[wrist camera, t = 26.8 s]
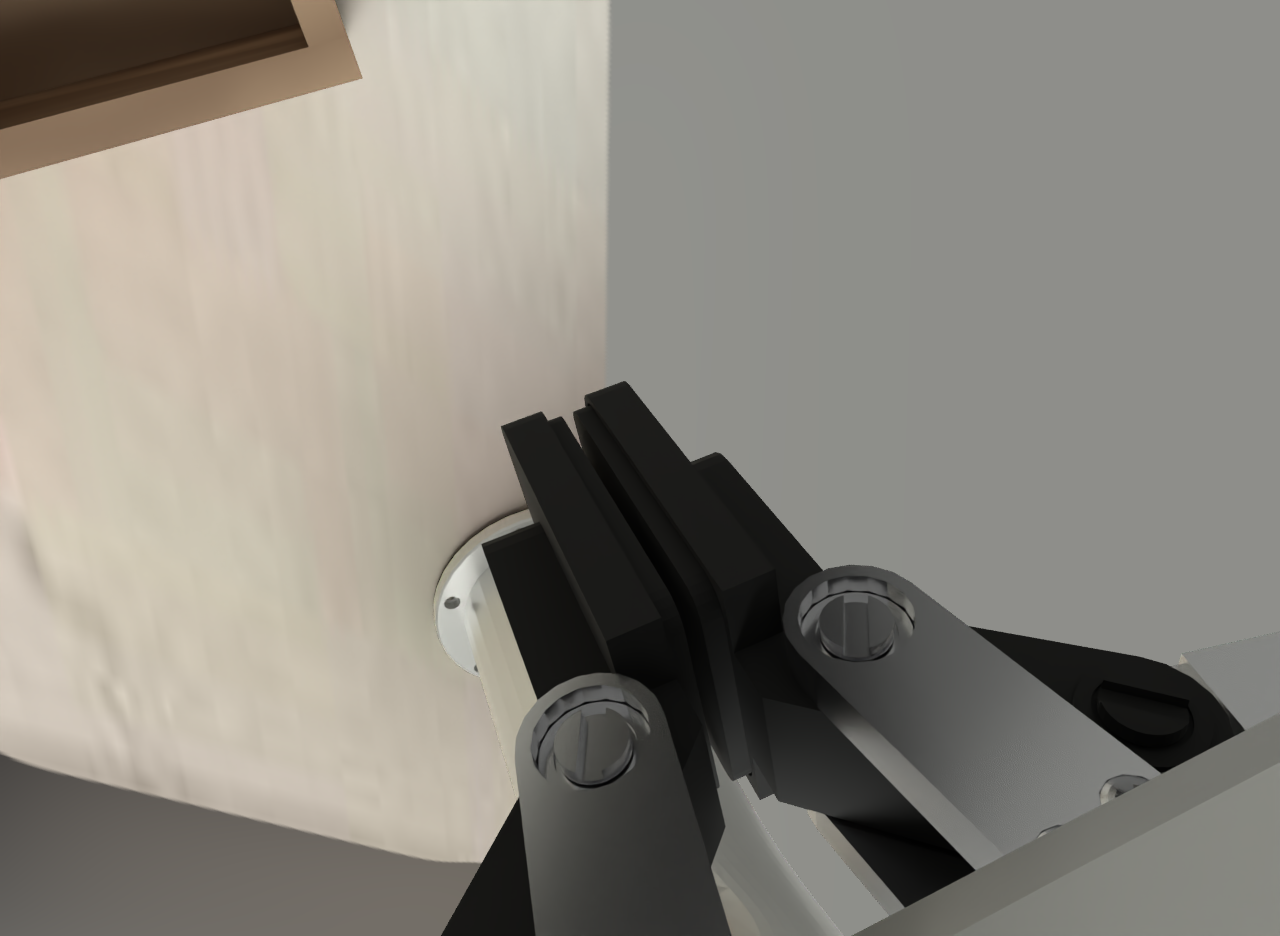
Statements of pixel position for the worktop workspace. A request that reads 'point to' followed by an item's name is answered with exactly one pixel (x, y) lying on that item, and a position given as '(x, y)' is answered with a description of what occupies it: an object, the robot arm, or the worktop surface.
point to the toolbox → (152, 68)
